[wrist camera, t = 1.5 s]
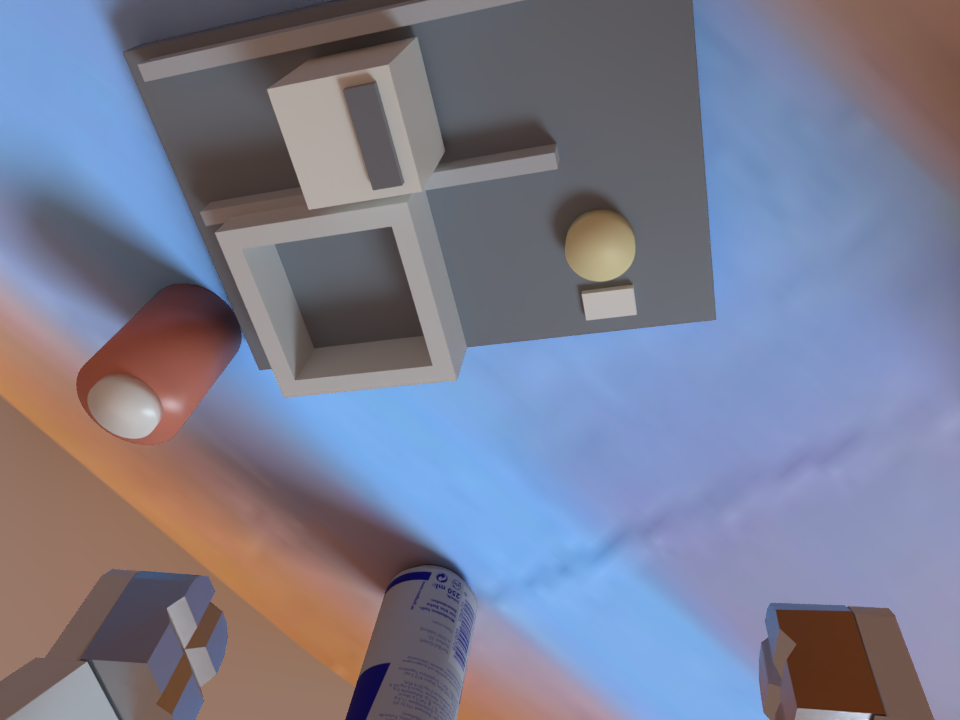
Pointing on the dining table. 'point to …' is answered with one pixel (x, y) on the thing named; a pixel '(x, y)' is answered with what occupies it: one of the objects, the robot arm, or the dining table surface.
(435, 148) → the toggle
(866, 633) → the robot arm
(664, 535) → the dining table surface
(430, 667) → the beverage can
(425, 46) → the panel
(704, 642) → the dining table surface
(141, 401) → the bottle with white cap
